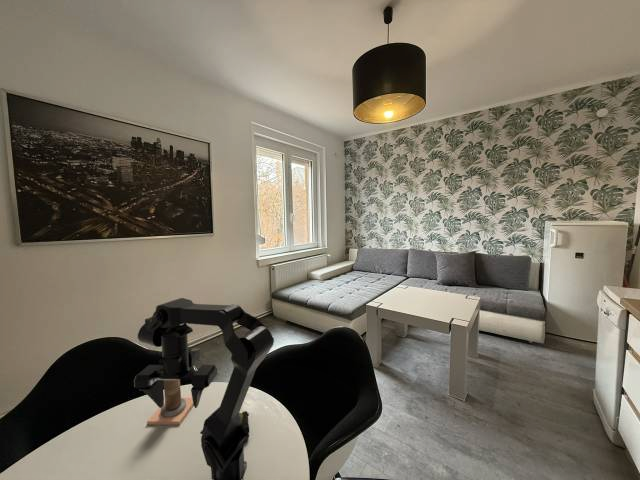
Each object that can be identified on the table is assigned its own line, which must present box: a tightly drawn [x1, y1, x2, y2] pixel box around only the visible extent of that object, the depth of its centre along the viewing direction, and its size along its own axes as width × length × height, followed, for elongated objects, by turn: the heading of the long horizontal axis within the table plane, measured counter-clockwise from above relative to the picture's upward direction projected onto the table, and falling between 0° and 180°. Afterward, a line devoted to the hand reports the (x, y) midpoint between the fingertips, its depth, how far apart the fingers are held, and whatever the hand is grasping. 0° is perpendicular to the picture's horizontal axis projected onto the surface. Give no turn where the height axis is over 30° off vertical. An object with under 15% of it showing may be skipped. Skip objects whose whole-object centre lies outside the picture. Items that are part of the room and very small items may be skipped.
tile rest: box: [146, 397, 194, 426], centre depth 80 cm, size 10×10×1 cm
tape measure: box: [239, 410, 250, 435], centre depth 72 cm, size 7×7×4 cm
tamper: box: [161, 379, 186, 418], centre depth 79 cm, size 7×7×12 cm
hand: (179, 406), depth 64 cm, fingers open, 9 cm apart
